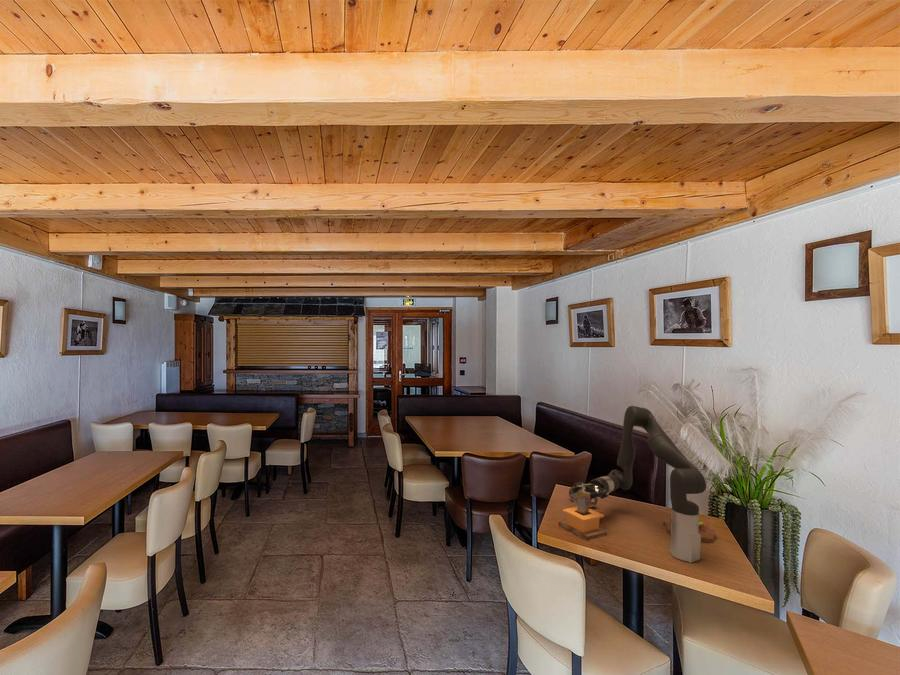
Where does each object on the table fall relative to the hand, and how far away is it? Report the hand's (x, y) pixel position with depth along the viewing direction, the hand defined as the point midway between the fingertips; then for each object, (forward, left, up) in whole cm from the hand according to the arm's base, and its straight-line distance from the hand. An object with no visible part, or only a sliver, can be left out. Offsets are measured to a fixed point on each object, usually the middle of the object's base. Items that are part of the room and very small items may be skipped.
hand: (581, 493), depth 185 cm
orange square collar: (0, -1, -14) cm, 15 cm away
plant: (-22, -43, -17) cm, 51 cm away
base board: (0, -1, -16) cm, 16 cm away
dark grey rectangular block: (0, -1, -14) cm, 15 cm away
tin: (+21, -24, -16) cm, 36 cm away
